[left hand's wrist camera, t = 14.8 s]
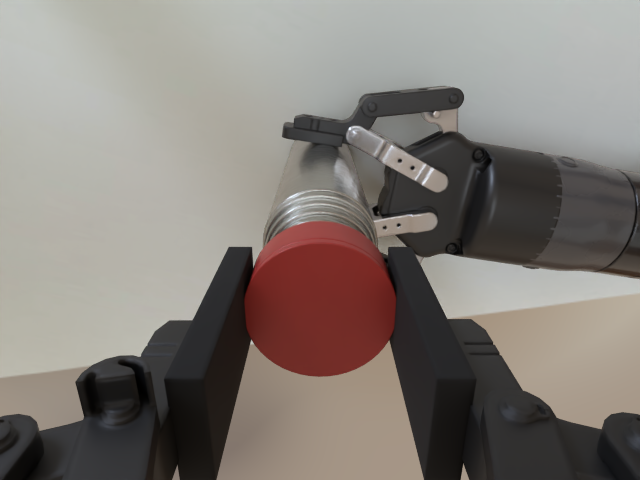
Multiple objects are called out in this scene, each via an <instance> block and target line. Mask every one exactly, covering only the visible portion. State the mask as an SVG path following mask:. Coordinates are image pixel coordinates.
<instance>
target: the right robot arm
mask: <svg viewBox="0 0 640 480" xmlns="http://www.w3.org/2000/svg"><path fill="white" fill-rule="evenodd" d="M463 101H464V95H463V92H462V91H461V90H460V89H458V88H454V87H449V86H438V87H428V88H418V89H409V90H399V91H389V92H380V93H370V94H365V95H363V96H362V97H361V98H360V100H359V104H358V106H357V108H356V109H355V111H354V113H353V115H352V116H351V117H350V118H348V119H346V120H336V119H330V118H324V117H318V116H312V115H306V114H302V115H298V116H295V118H294V123H289V122H286V123H285V124H284V126H283V134H282V137H283V138H287V139H293V140H299V141H305V142H311V143H317V144H325V145H330V146H336V147H342V143H343V144H349V145H353V146H355V147H356V148H358V149H360V150H362V151H364V152H365V153H367V154H369V155H371V156H373V157H374V158H376V159H377V160H379V161H380V162H382V163H384V164H385V165H386V167H385V171H384V175H385V185H384V187H383V189H382V191H381V193H380V195H379V199H378V203H374V204H368V206H369V209H370V212H371V215H372V218H373V221H374V224H375V228H376V231H377V238H378V237H384V236H390V235H396V236H397V237H398V238H399V239H400V240H401V241H402V242H403V243H404V244H405V245H406V246H407V247H412V249H413V251H414V253H415V255H416V257H417V259H418V261H419V263H421V261H422V259H423V258H424V257H431V256H434V255H437V254H444V253H445V254H451V255H456V256H461V257H467V258H474V259H481V260H487V261H494V262H501V263H508V264H515V265H521V266H523V267H526V268H530V269H539V268H542V269H549V270H557V271H587V272H594V273H601V274H608V275H615V276H621V277H629V278H635V279H640V173H636V172H630V171H624V170H618V169H612V168H607V167H603V166H600V165H597V164H594V163H591V162H588V161H584V160H580V159H575V158H569V157H564V156H556V155H550V154H544V153H538V152H532V151H526V150H520V149H514V148H508V147H502V146H496V145H489V144H483V143H477V142H473V141H469V140H468V139H467V138H465V137H464V136H463V135H462V134H460V133H458V108H459V107H460V106H461V105H462V103H463ZM413 113H421V116H422V118H423V119H424V120H425V121H427V122H429V123H435V124H437V125H438V127H439V131H438V132H436V133H434V134H432V135H430V136H428V137H426V138H424V139H422V140H420V141H418V142H416V143H414V144H412V145H410V146H408V147H406V148H405V147H403V146H401V145H399V144H398V143H396V142H394V141H392V140H391V139H389V138H387V137H385V136H383V135H381V134H379V133H377V132H375V131H373V130H372V129H370V128H371V126H372V125H373V123H374V121H375V120H376V118H377V117H383V116H393V115H403V114H413ZM378 212H379V213H378ZM383 226H385V227H383ZM380 253H381V252H380ZM381 254H382V256H383V258H384V261H385V263H386V266H387V264H388V255H386V254H383V253H381Z"/></svg>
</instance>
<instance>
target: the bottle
mask: <svg viewBox="0 0 640 480" xmlns="http://www.w3.org/2000/svg"><path fill="white" fill-rule="evenodd" d="M312 221H328V222H335V223H339V224H343V225H346V226H349V227H351V228H353V229H355V230H357V231H359V232H360V233H362V234H363V235H365V236H366V237H367V238H368V239H369V240H370V241H372V242H373V244H374V245H375V246H376V247H377V248H378V243H377V231H376V228H375V224H374V221H373V218H372V215H371V212H370V209H369V206H368V203H367V201H366V198H365V195H364V192H363V189H362V186H361V183H360V180H359V177H358V174H357V171H356V168H355V165H354V162H353V159H352V156H351V153H350V150H349V147H348V145H347V144H343V143H342V147H336V146H330V145H325V144H317V143H311V142H305V141H299V140H295V141H294V143H293V146H292V148H291V151H290V154H289V157H288V160H287V163H286V166H285V169H284V172H283V175H282V178H281V181H280V184H279V187H278V190H277V193H276V196H275V199H274V202H273V205H272V208H271V211H270V214H269V217H268V220H267V223H266V226H265V230H264V235H263V248H264V247H265V245H266V244H267V243H268V242H269V241H270V240H271V239H272V238H274V237H275V236H276V235H277V234H279V233H281V232H282V231H284V230H286V229H288V228H290V227H292V226H295V225H298V224H301V223H306V222H312Z"/></svg>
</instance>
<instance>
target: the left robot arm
mask: <svg viewBox="0 0 640 480" xmlns="http://www.w3.org/2000/svg"><path fill="white" fill-rule="evenodd" d="M387 269H388V272H389V275H390V278H391V281H392V284H393V287H394V290H395V294H396V309H395V323H394V331H393V333H392V335H391V337H390V339H389V340H390V344H391V348H392V352H393V356H394V360H395V364H396V368H397V372H398V376H399V380H400V384H401V388H402V392H403V396H404V400H405V404H406V408H407V412H408V416H409V421H410V425H411V428H412V433H413V437H414V441H415V445H416V449H417V453H418V457H419V461H420V465H421V469H422V473H423V477H424V480H461V474H462V467H463V463H464V466H465V469H466V472H467V474H468V477H469V480H640V415H638V414H632V413H624V412H622V413H616V414H611V415H610V416H609V417H608V418H606V419H605V420H604V424H603V427H602V429H597V428H593V427H589V426H584V425H580V424H576V423H571V422H568V421H565V420H561V419H558V418H556V416H555V414H554V413H553V411H552V409H551V408H550V407H549V406H548V405H547V404H546V403H545V402H543V401H542V400H541V399H540V398H538V397H536V396H534V395H532V394H530V393H528V392H526V391H523V390H522V389H521V387H520V385H519V384H518V382H517V380H516V379H515V377H514V375H513V374H512V372H511V371H510V369H509V367H508V366H507V364H506V363H505V361H504V359H503V358H502V356H501V355H499V351H498V350H497V348H496V346H495V345H493V341H492V340H491V338H490V337H489V335H488V333H487V332H486V330H485V329H483V328H482V327H481V326H479V325H478V324H477V323H475V322H474V321H473V320H471V319H447V318H446V316H445V314H444V312H443V310H442V308H441V306H440V303H439V301H438V299H437V297H436V295H435V293H434V291H433V289H432V287H431V285H430V283H429V281H428V279H427V277H426V275H425V273H424V271H423V269H422V267H421V265H420V263H419V261H418V259H417V257H416V255H415V253H414V251H413V249H412V247H389V248H388V264H387ZM252 271H253V257H252V247H229V248H228V250H227V252H226V254H225V256H224V258H223V260H222V262H221V264H220V266H219V268H218V270H217V272H216V274H215V276H214V278H213V280H212V282H211V284H210V286H209V288H208V290H207V292H206V294H205V296H204V298H203V300H202V303H201V305H200V307H199V309H198V311H197V313H196V315H195V317H194V319H193V321H168V322H167V323H166V324H164V325H163V326H162V327H160V328H159V329H158V330H156V331H155V333H154V334H153V336H152V338H151V339H150V341H149V342H148V346H146V347H145V349H144V351H143V352H142V354H141V357H137V356H117V357H113V358H108V359H105V360H103V361H101V362H98V363H96V364H94V365H92V366H91V367H89V368H88V369H87V370H85V371H84V372H83V373H82V374H81V375H80V376H79V378H78V379H77V381H76V386H77V390H78V394H79V398H80V402H81V406H82V410H83V414H84V419H83V420H82V421H78V422H75V423H72V424H68V425H64V426H60V427H55V428H51V429H46V430H42V431H39V428H38V425H37V422H36V421H35V420H34V419H33V418H32V417H30V416H27V415H21V414H15V415H7V416H2V417H0V480H172V478H173V475H174V472H175V470H176V467H177V464H178V470H179V477H180V480H216V479H217V475H218V471H219V467H220V463H221V459H222V455H223V451H224V447H225V443H226V439H227V435H228V430H229V426H230V422H231V418H232V414H233V410H234V406H235V402H236V398H237V394H238V390H239V386H240V382H241V378H242V374H243V370H244V366H245V362H246V358H247V354H248V350H249V346H250V342H251V338H250V336H249V333H248V331H247V328H246V316H245V302H244V297H245V293H246V290H247V287H248V284H249V281H250V277H251V274H252Z"/></svg>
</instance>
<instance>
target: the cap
mask: <svg viewBox="0 0 640 480" xmlns="http://www.w3.org/2000/svg"><path fill="white" fill-rule="evenodd" d="M244 302H245V316H246V328H247V331H248V333H249V336H250V338H251V339H252V341H253V343H254V344H255V346H256V347H257V348H258V349H259V350H260V352H261V353H262V354H263V355H264V356H266V357H267V358H268V359H269V360H271V361H272V362H273V363H275V364H276V365H278V366H280V367H282V368H284V369H286V370H289V371H291V372H294V373H298V374H302V375H308V376H318V377H320V376H333V375H339V374H343V373H347V372H349V371H352V370H355V369H357V368H359V367H361V366H363V365H364V364H366V363H367V362H369V361H370V360H372V359H373V358H374V357H375V356H376V355H378V354H379V352H380V351H381V350H382V349H383V348H384V347H385V345H386V344H387V342H388V341H389V339H390V337H391V335H392V333H393V331H394V323H395V309H396V294H395V290H394V287H393V284H392V281H391V278H390V275H389V272H388V269H387V266H386V263H385V261H384V258H383V256H382V254H381V253H380V251H379V250H378V248H377V247H376V246H375V245H374V244H373V242H372V241H370V240H369V239H368V238H367V237H366V236H365V235H363V234H362V233H360V232H359V231H357V230H355V229H353V228H351V227H349V226H346V225H343V224H339V223H335V222H328V221H312V222H306V223H301V224H298V225H295V226H292V227H290V228H288V229H286V230H284V231H282V232H281V233H279V234H277V235H276V236H275V237H274V238H272V239H271V240H270V241H269V242H268V243H267V244H266V245H265V247H264V248H263V250H262V251H261V252H260V254H259V256H258V258H257V260H256V262H255V265H254V268H253V271H252V274H251V277H250V281H249V284H248V287H247V290H246V293H245V297H244Z"/></svg>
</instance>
